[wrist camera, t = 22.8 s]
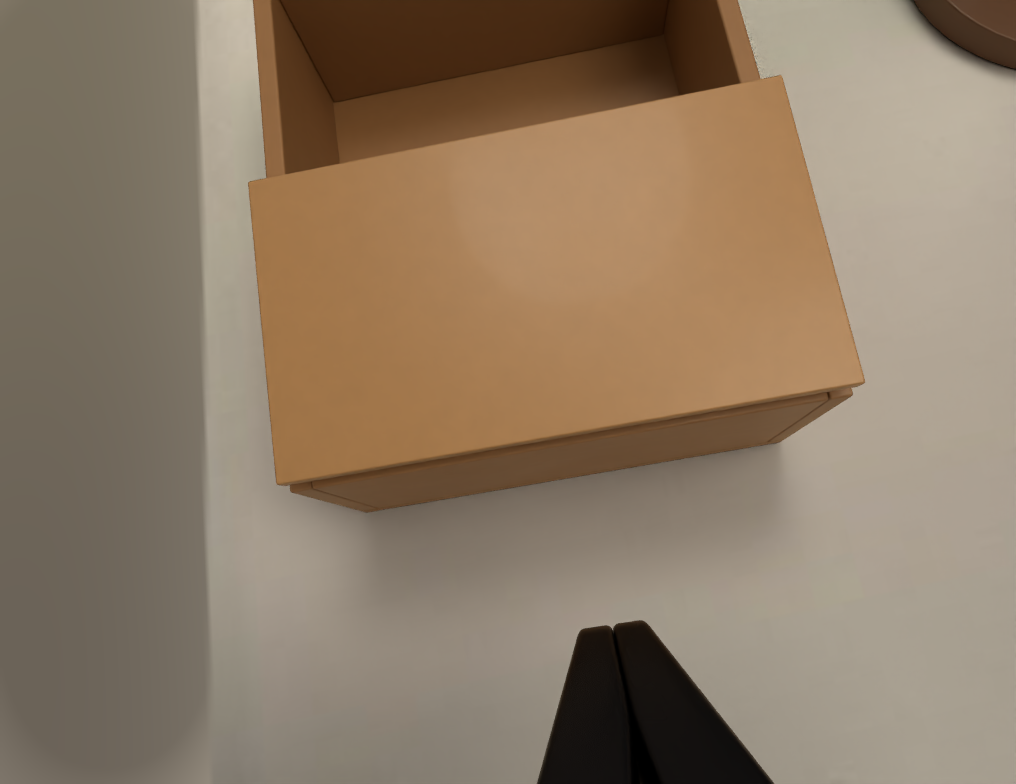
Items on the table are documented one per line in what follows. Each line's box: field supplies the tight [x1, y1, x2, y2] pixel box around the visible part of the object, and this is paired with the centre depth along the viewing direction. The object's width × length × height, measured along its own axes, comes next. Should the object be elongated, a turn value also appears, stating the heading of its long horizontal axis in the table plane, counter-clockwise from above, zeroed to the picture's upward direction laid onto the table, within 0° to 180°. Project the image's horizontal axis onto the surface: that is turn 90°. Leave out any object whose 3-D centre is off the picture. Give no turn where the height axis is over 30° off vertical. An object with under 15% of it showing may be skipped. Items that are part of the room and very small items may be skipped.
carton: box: [253, 0, 853, 512], centre depth 19 cm, size 14×12×6 cm
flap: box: [248, 75, 865, 486], centre depth 15 cm, size 7×12×1 cm, turn 99°
